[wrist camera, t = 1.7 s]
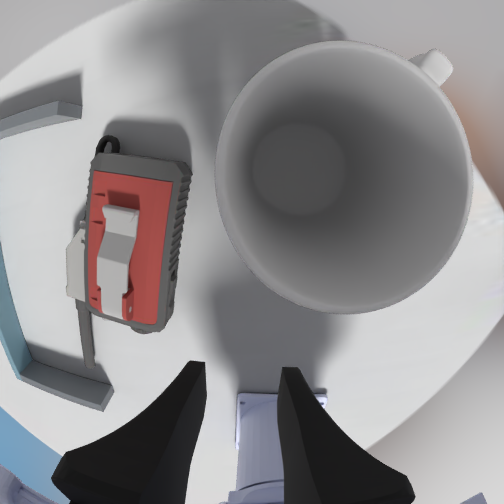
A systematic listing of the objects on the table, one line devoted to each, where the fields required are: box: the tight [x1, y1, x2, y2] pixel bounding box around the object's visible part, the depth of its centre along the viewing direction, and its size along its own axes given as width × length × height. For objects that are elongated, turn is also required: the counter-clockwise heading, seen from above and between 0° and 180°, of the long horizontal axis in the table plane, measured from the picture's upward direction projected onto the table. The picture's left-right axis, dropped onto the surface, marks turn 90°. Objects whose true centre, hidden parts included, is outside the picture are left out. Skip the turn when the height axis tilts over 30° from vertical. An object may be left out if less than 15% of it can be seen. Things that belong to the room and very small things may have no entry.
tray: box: [0, 101, 114, 412], centre depth 18 cm, size 26×12×3 cm, turn 177°
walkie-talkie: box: [66, 135, 193, 369], centre depth 18 cm, size 9×4×20 cm
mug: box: [215, 40, 473, 314], centre depth 11 cm, size 10×7×12 cm, turn 141°
